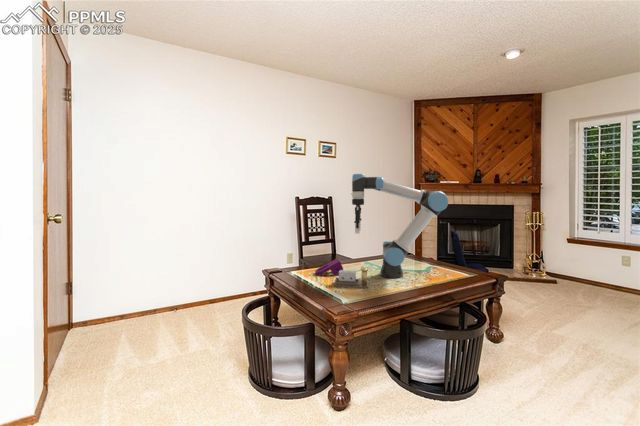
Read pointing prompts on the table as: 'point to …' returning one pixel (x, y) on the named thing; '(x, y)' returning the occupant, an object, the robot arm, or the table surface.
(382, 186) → the robot arm
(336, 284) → the hinge base
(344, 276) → the grey block with holes
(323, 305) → the table surface
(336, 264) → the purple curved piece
